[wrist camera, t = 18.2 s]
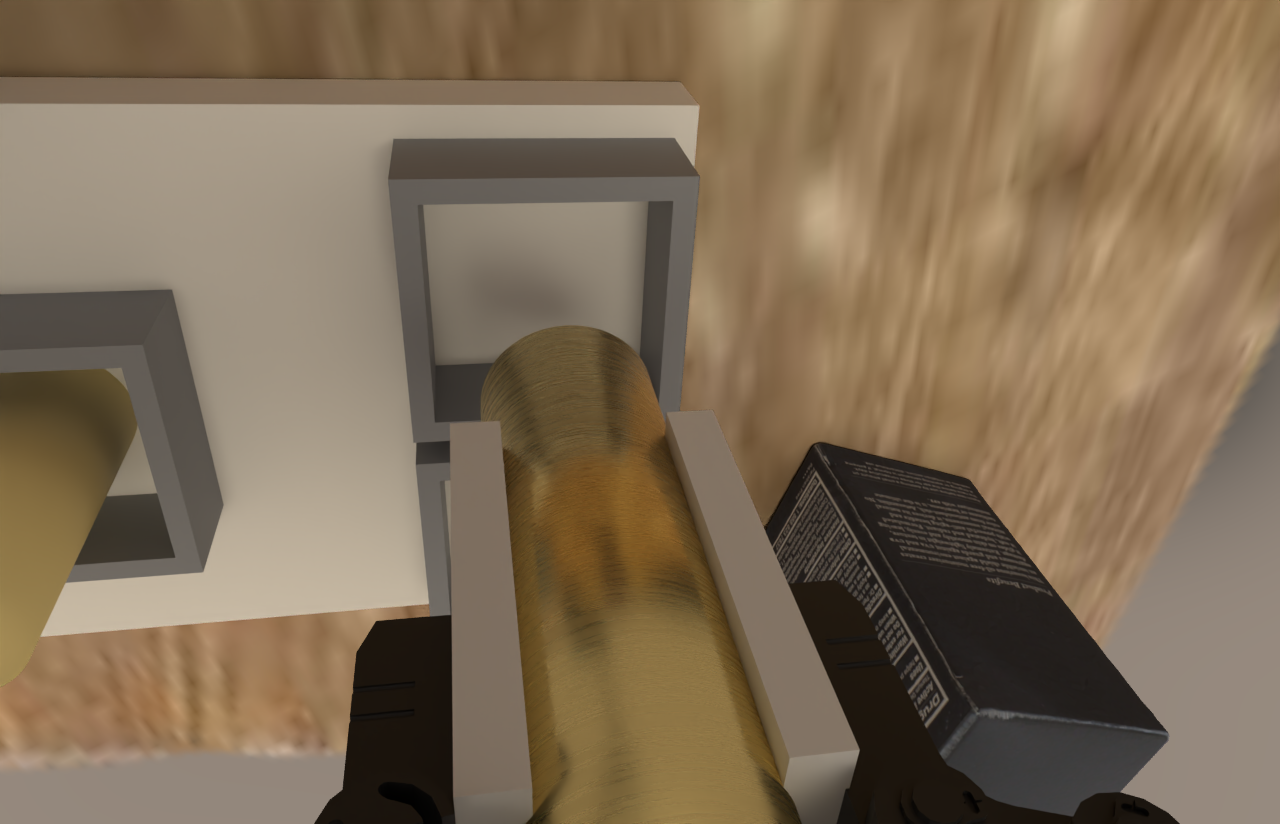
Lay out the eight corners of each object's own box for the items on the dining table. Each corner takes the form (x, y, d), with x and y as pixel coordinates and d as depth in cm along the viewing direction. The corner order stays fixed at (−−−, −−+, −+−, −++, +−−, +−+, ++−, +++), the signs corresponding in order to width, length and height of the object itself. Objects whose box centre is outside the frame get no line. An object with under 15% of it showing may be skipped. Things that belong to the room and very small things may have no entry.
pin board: (-60, 594, 26) (-255, 909, 19) (-307, 74, 19) (-791, 263, 11) (647, 540, 30) (715, 789, 22) (680, 81, 22) (799, 230, 15)
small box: (835, 696, 36) (960, 986, 27) (679, 675, 34) (760, 982, 25) (983, 477, 31) (1191, 745, 22) (810, 435, 29) (968, 714, 20)
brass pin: (486, 477, 18) (514, 1038, 10) (475, 330, 17) (498, 861, 8) (649, 465, 19) (804, 989, 11) (655, 320, 17) (846, 814, 9)
